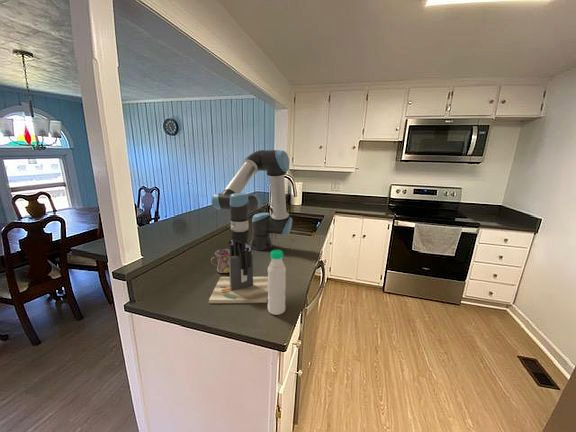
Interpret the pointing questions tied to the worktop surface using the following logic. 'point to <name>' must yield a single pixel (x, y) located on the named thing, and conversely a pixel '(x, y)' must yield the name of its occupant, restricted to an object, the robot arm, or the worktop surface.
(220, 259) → the mug
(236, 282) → the gray square slab
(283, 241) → the worktop surface
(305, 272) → the worktop surface
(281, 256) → the water bottle
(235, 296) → the beige flat board
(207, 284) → the worktop surface
